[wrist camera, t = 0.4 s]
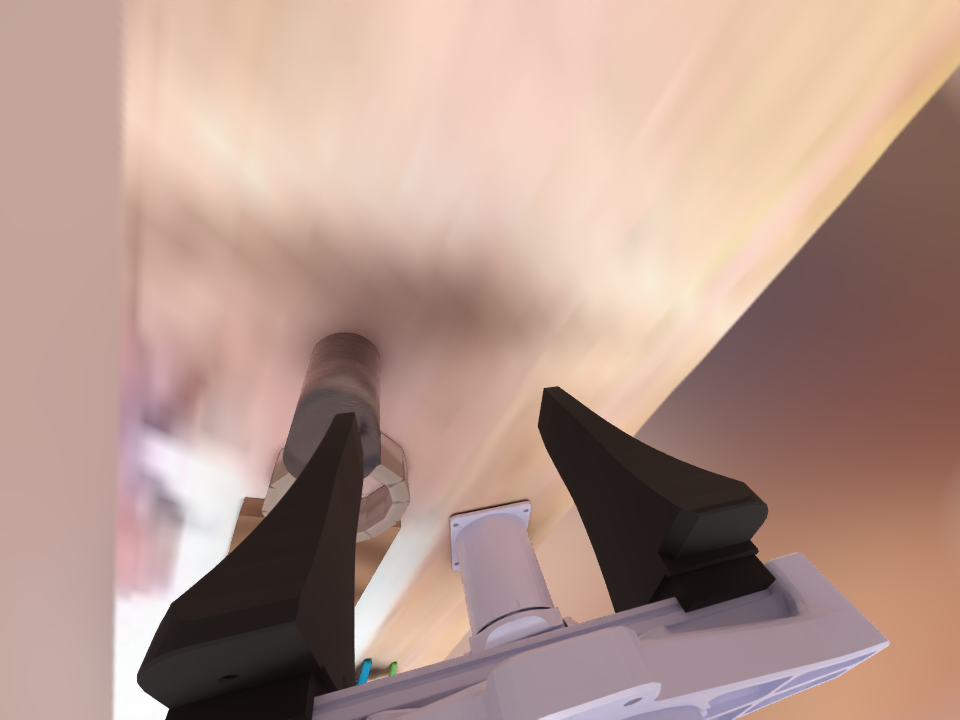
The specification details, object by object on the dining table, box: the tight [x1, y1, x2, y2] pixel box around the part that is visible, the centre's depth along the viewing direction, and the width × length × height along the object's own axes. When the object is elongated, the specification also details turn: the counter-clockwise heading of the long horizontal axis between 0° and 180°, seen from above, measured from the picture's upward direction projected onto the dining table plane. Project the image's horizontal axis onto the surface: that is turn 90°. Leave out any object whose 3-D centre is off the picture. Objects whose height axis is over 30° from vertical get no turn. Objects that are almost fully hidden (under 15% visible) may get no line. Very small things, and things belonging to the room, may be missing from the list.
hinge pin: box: [283, 333, 380, 479], centre depth 19 cm, size 4×4×8 cm
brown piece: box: [228, 433, 410, 607], centre depth 30 cm, size 29×12×3 cm, turn 153°
